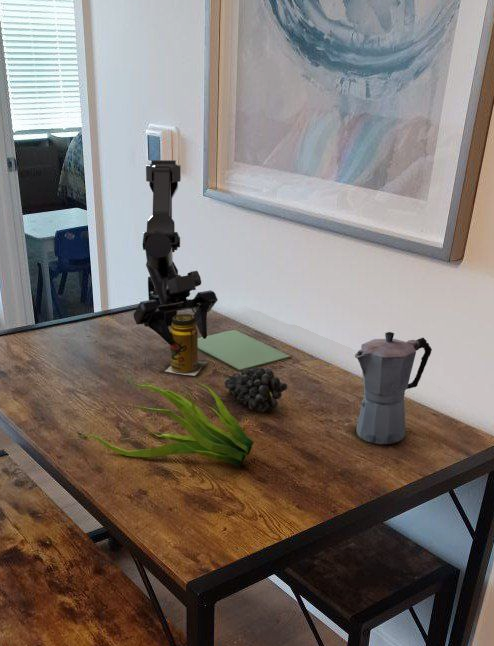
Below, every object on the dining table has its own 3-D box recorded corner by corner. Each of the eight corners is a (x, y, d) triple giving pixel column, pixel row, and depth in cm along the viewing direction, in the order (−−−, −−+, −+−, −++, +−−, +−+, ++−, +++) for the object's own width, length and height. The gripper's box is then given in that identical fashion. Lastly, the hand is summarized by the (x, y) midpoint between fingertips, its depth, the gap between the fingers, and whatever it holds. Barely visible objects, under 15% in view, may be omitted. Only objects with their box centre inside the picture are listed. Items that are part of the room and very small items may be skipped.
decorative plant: (135, 414, 139) (132, 343, 131) (259, 462, 122) (263, 384, 115) (66, 448, 127) (58, 371, 119) (192, 506, 110) (193, 422, 103)
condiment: (164, 372, 157) (163, 320, 151) (178, 359, 164) (177, 308, 158) (194, 376, 155) (195, 324, 149) (207, 363, 162) (208, 312, 156)
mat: (185, 341, 174) (185, 340, 174) (234, 330, 181) (234, 329, 181) (239, 370, 158) (239, 369, 158) (290, 357, 165) (290, 356, 165)
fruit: (219, 352, 143) (269, 373, 132) (248, 356, 148) (298, 377, 138) (208, 392, 145) (256, 417, 135) (238, 395, 151) (286, 419, 140)
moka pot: (332, 430, 133) (344, 328, 123) (398, 416, 139) (415, 317, 129) (361, 452, 126) (376, 346, 116) (430, 437, 131) (451, 334, 121)
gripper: (137, 264, 146) (162, 330, 144) (214, 253, 155) (239, 316, 152) (123, 292, 156) (146, 355, 154) (196, 281, 164) (219, 340, 162)
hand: (189, 341), depth 155 cm, fingers open, 8 cm apart
